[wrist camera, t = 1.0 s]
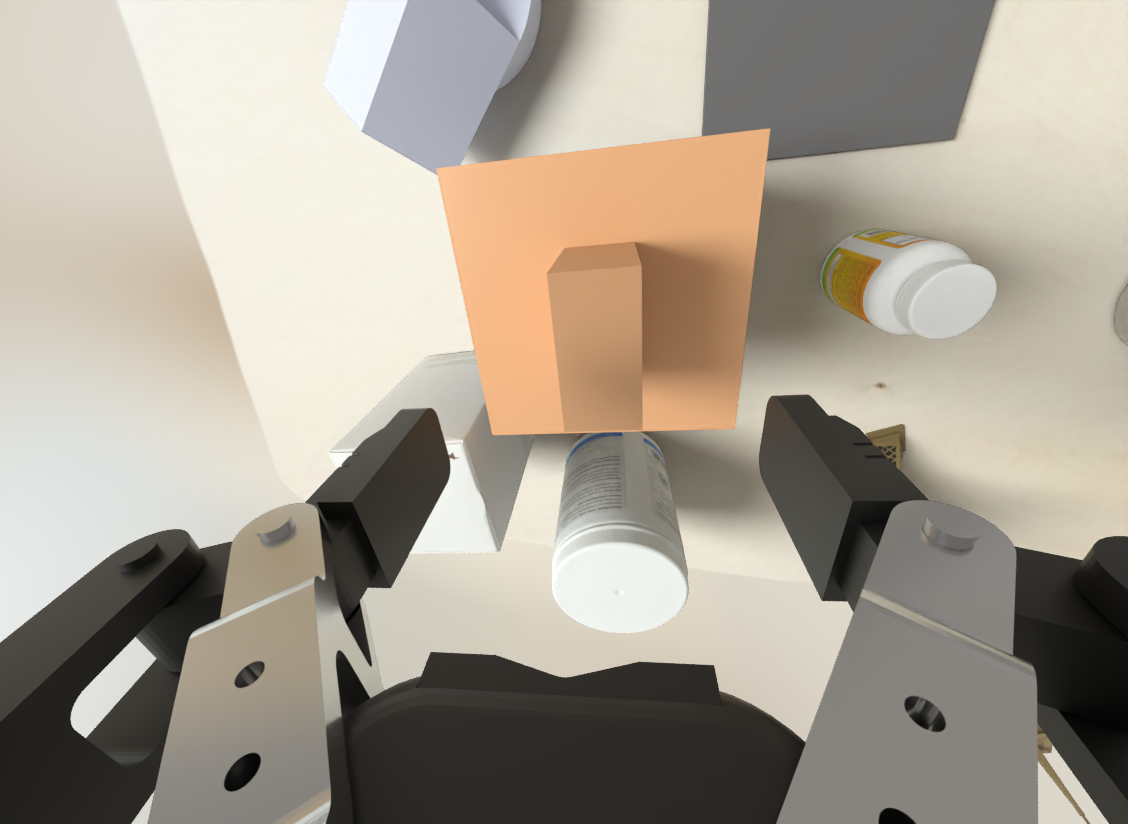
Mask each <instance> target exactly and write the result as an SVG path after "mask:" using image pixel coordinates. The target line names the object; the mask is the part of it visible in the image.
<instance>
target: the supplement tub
mask: <svg viewBox="0 0 1128 824" xmlns="http://www.w3.org/2000/svg"><path fill="white" fill-rule="evenodd" d="M552 574H553V577H552V589H553V594H554V597H555V599H556V601H557V603H558V605H559V606H560V607H561V608H562V610H563V611H564V612H565V613H567V614H568V615H569V616H570V617H572V618H573V619H574V620H576V621H578V622H580V623H581V624H584V625H586V626H588V627H591V628H594V629H597V630H601V631H606V632H613V633H635V632H641V631H646V630H650V629H653V628H656V627H659V626H661V625H663V624H664V623H666V622H668V621H670V620H671V619H672V618H674V617H675V616H676V615H677V614H678V613H679V612H680V611H681V609H682V608H683V607H684V605H685V603H686V601H687V597H688V591H689V589H688V588H689V587H688V579H687V576H688V571H687V565H686V560H685V555H684V549H683V544H682V539H681V535H680V530H679V525H678V520H677V516H676V511H675V506H674V501H673V497H672V492H671V488H670V483H669V478H668V473H667V468H666V464H665V459H664V456H663V453H662V451H661V449H660V448H659V446H658V445H657V444H656V443H655V442H654V441H653V440H652V439H651V438H650V437H649V436H647V435H646V434H644V433H642V432H640V431H637V432H598V433H587V434H585V435H584V436H582V437H581V438H580V439H579V440H578V441H577V442H576V443H575V444H574V445H573V447H572V448H571V450H570V452H569V454H568V457H567V460H566V466H565V473H564V480H563V487H562V494H561V501H560V508H559V516H558V523H557V530H556V537H555V544H554V553H553V560H552Z"/></svg>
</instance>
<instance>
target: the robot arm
mask: <svg viewBox="0 0 1128 824" xmlns="http://www.w3.org/2000/svg"><path fill="white" fill-rule="evenodd" d="M1114 322H1115V328H1116V332H1117V334H1118V335H1119V337H1120V339H1121V340H1122V341H1123V342H1125V343H1126V344H1127V345H1128V285H1127V287H1126V288H1125V290H1124V291H1123V293H1122V295H1121V297H1120V299H1119V302H1118V304H1117V307H1116V312H1115V318H1114ZM759 466H760V473H761V476H762V479H763V482H764V484H765V486H766V488H767V490H768V492H769V494H770V496H771V498H772V500H773V502H774V504H775V506H776V508H777V510H778V512H779V514H780V516H781V518H782V520H783V522H784V524H785V526H786V528H787V531H788V533H789V535H790V537H791V539H792V541H793V543H794V545H795V547H796V549H797V551H798V553H799V555H800V557H801V559H802V561H803V563H804V565H805V567H806V569H807V571H808V573H809V575H810V577H811V579H812V581H813V583H814V586H815V588H816V590H817V592H818V594H819V596H820V598H821V600H822V601H848V603H849V605H850V607H851V609H852V610H853V612H854V613H853V616H852V619H851V621H850V624H849V627H848V629H847V632H846V635H845V638H844V640H843V643H842V646H841V648H840V651H839V654H838V656H837V659H836V662H835V664H834V667H833V670H832V673H831V675H830V678H829V681H828V684H827V686H826V689H825V692H824V694H823V697H822V700H821V703H820V705H819V708H818V711H817V713H816V716H815V719H814V721H813V724H812V727H811V729H810V732H809V735H808V737H807V740H806V742H804V741H803V740H802V739H801V738H800V737H799V736H797V735H796V734H795V733H794V732H793V731H792V730H790V729H789V728H788V727H786V726H785V725H783V724H782V723H781V722H779V721H778V720H776V719H775V718H774V717H772V716H771V715H769V714H767V713H766V712H764V711H762V710H761V709H759V708H757V707H755V706H753V705H752V704H750V703H748V702H746V701H743V700H741V699H739V698H737V697H735V696H732V695H730V694H727V693H724V692H721V691H719V688H718V683H717V678H716V673H715V668H714V665H695V664H674V663H652V662H637V663H632V664H628V665H623V666H619V667H614V668H610V669H605V670H601V671H596V672H592V673H587V674H583V675H578V676H574V677H567V678H563V677H558V676H554V675H552V674H548V673H546V672H543V671H540V670H537V669H534V668H531V667H528V666H525V665H523V664H520V663H517V662H514V661H511V660H508V659H505V658H502V657H499V656H496V655H482V654H461V653H460V654H459V653H438V652H431V653H430V655H429V658H428V660H427V663H426V666H425V668H424V671H423V673H422V676H421V677H416V678H413V679H410V680H408V681H405V682H402V683H399V684H397V685H395V686H393V687H391V688H388V689H387V690H384V687H383V684H382V681H381V677H380V672H379V667H378V663H377V658H376V653H375V648H374V644H373V639H372V634H371V629H370V624H369V620H368V615H367V610H366V606H365V604H364V602H363V600H362V596H363V595H364V593H365V591H366V590H367V588H368V587H369V588H370V587H371V588H391V587H392V585H393V583H394V581H395V579H396V577H397V576H398V574H399V572H400V570H401V568H402V566H403V564H404V563H405V561H406V559H407V557H408V555H409V553H410V551H411V550H412V548H413V546H414V544H415V542H416V540H417V539H418V537H419V535H420V533H421V531H422V529H423V527H424V526H425V524H426V522H427V520H428V518H429V516H430V514H431V513H432V511H433V509H434V507H435V505H436V503H437V501H438V500H439V498H440V496H441V494H442V492H443V490H444V488H445V487H446V485H447V483H448V480H449V477H450V458H449V454H448V451H447V447H446V444H445V440H444V437H443V433H442V429H441V426H440V422H439V419H438V416H437V413H436V412H435V410H434V409H432V408H414V409H401V410H400V411H399V412H398V413H397V414H396V415H395V416H394V417H393V418H392V419H391V421H390V422H389V423H388V424H387V425H386V426H385V427H384V428H383V429H381V430H379V431H378V432H376V433H374V434H373V435H371V436H370V437H368V438H367V439H365V440H364V441H363V442H362V443H361V444H360V445H359V446H358V447H357V448H356V449H355V450H354V451H353V452H352V456H349V457H348V458H347V459H346V460H345V461H344V462H343V463H342V467H338V468H337V469H336V470H335V471H334V473H333V474H332V475H331V476H330V477H329V478H328V479H327V480H326V481H325V482H324V483H323V484H322V485H321V486H320V487H319V488H318V489H317V491H316V492H315V493H314V494H313V495H312V496H311V497H310V498H309V499H308V500H307V501H306V502H305V503H295V504H289V505H285V506H282V507H279V508H276V509H273V510H271V511H269V512H267V513H265V514H263V515H261V516H259V517H258V518H256V519H255V520H253V521H252V522H250V523H249V524H248V525H246V526H245V527H244V528H243V529H242V530H241V531H240V532H239V533H238V534H237V536H236V537H235V539H234V540H233V541H232V542H227V543H223V544H219V545H215V546H210V547H206V548H201V549H199V548H198V546H197V545H196V543H195V542H194V541H193V539H192V538H191V536H190V535H189V534H188V533H187V532H186V531H184V530H179V529H173V530H166V531H161V532H158V533H154V534H152V535H149V536H146V537H144V538H141V539H139V540H136V541H134V542H132V543H130V544H128V545H127V546H125V547H123V548H121V549H120V550H118V551H117V552H115V553H113V554H112V555H110V556H109V557H108V558H106V559H105V560H104V561H103V562H101V563H100V564H99V565H97V566H96V567H95V568H94V569H92V570H91V571H90V572H89V573H87V574H86V575H85V576H84V577H82V578H81V579H80V580H79V581H77V582H76V583H75V584H73V585H72V586H71V587H70V588H68V589H67V590H66V591H65V592H63V593H62V594H61V595H60V596H58V597H57V598H56V599H55V600H53V601H52V602H51V603H50V604H48V605H47V606H46V607H45V608H43V609H42V610H41V611H40V612H38V613H37V614H36V615H34V616H33V617H32V618H31V619H29V620H28V621H27V622H26V623H24V624H23V625H22V626H21V627H19V628H18V629H17V630H16V631H14V632H13V633H12V634H11V635H9V636H8V637H7V638H6V639H4V640H3V641H2V642H1V643H0V824H131V823H132V822H133V820H134V819H135V817H136V816H137V815H138V813H139V812H140V810H141V809H142V807H143V806H144V805H145V803H146V802H147V800H148V799H149V798H150V796H151V794H152V793H153V792H154V790H155V792H154V797H153V801H152V806H151V810H150V815H149V819H148V824H1038V764H1037V763H1038V756H1037V723H1038V725H1039V726H1040V728H1041V729H1042V730H1043V732H1044V733H1045V735H1046V736H1047V737H1048V739H1049V740H1050V742H1051V743H1052V744H1053V746H1054V747H1055V749H1056V750H1057V751H1058V753H1059V754H1060V756H1061V757H1062V758H1063V760H1064V761H1065V762H1066V764H1067V765H1068V767H1069V768H1070V770H1071V771H1072V772H1073V774H1074V775H1075V777H1076V778H1077V779H1078V781H1079V782H1080V784H1081V785H1082V786H1083V788H1084V789H1085V790H1086V792H1087V793H1088V795H1089V796H1090V797H1091V799H1092V800H1093V802H1094V803H1095V804H1096V806H1097V807H1098V809H1099V810H1100V811H1101V813H1102V814H1103V816H1104V817H1105V818H1106V819H1107V821H1108V823H1109V824H1128V537H1126V536H1113V537H1106V538H1103V539H1100V540H1099V541H1097V542H1096V543H1095V544H1094V546H1093V547H1092V548H1091V550H1090V551H1089V553H1088V554H1087V555H1086V557H1085V558H1084V559H1083V560H1079V559H1074V558H1069V557H1064V556H1059V555H1054V554H1049V553H1044V552H1039V551H1034V550H1029V549H1024V548H1019V547H1015V546H1014V545H1013V543H1012V542H1011V541H1010V539H1009V538H1008V537H1007V536H1006V535H1005V534H1004V533H1003V532H1002V531H1001V530H1000V529H998V528H997V527H996V526H995V525H993V524H992V523H990V522H988V521H987V520H985V519H983V518H982V517H980V516H978V515H976V514H974V513H971V512H969V511H967V510H964V509H961V508H959V507H956V506H952V505H949V504H945V503H940V502H935V501H929V500H928V499H927V498H926V497H925V496H924V495H923V494H922V493H921V492H920V491H919V490H918V489H917V488H916V487H915V486H914V485H913V483H912V482H911V481H910V480H909V479H908V478H907V477H906V476H905V475H904V474H903V473H902V472H901V471H900V470H899V469H898V468H897V467H896V466H895V465H894V464H893V463H892V462H891V461H890V460H889V459H888V458H887V459H885V455H884V454H883V453H882V452H881V451H880V450H879V448H878V447H877V446H873V442H872V441H871V440H870V439H869V438H868V437H867V436H866V435H865V434H864V433H863V432H862V431H861V430H860V429H859V428H858V427H856V426H854V425H852V424H851V423H849V422H847V421H845V420H843V419H841V418H839V417H838V416H828V415H827V414H826V412H825V411H824V410H823V409H822V408H821V407H820V406H819V405H818V404H817V402H816V401H815V400H814V399H813V398H812V397H811V396H810V395H785V396H771V397H770V399H769V401H768V403H767V408H766V414H765V421H764V427H763V433H762V440H761V446H760V453H759ZM134 637H136V638H137V639H139V641H140V642H141V643H142V644H143V645H144V646H145V647H146V648H147V649H148V650H149V651H150V652H151V653H152V654H153V655H154V656H155V657H156V658H157V659H156V660H155V662H153V664H152V665H151V666H150V667H149V668H148V669H147V670H146V671H145V673H144V674H143V675H142V676H141V677H140V678H139V679H138V681H137V682H136V683H135V684H134V685H133V686H132V687H131V689H129V691H128V692H127V693H126V694H125V695H124V696H123V697H122V698H121V700H120V701H119V702H118V703H117V704H116V705H115V706H114V707H113V709H112V710H111V711H110V712H109V713H108V714H107V715H106V716H105V718H104V719H103V720H102V721H101V722H100V723H99V724H98V725H97V727H96V728H95V729H94V730H93V731H92V732H91V734H89V736H88V737H87V738H84V737H83V736H81V734H79V733H78V732H77V731H75V730H74V729H73V727H72V725H71V721H70V717H71V711H72V708H73V705H74V703H75V701H76V700H77V698H78V696H79V695H80V694H81V692H82V691H83V690H84V689H85V688H86V687H87V686H88V685H89V684H90V682H91V681H92V680H93V679H94V678H95V677H96V676H97V675H98V674H99V673H100V672H101V671H102V670H103V669H104V668H105V667H106V666H107V665H108V664H109V663H110V662H111V661H112V660H113V659H114V658H115V657H116V656H117V655H118V654H119V653H120V652H121V651H122V650H123V649H124V648H125V647H126V646H127V645H128V644H129V642H131V641H132V640H133V638H134Z"/></svg>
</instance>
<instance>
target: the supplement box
mask: <svg viewBox="0 0 1128 824" xmlns="http://www.w3.org/2000/svg"><path fill="white" fill-rule="evenodd" d="M414 408H432V409H434V410H435V412H436V413H437V416H438V419H439V422H440V426H441V429H442V433H443V437H444V440H445V444H446V447H447V451H448V454H449V458H450V477H449V480H448V483H447V485H446V487H445V488H444V490H443V492H442V494H441V496H440V498H439V500H438V501H437V503H436V505H435V507H434V509H433V511H432V513H431V514H430V516H429V518H428V520H427V522H426V524H425V526H424V527H423V529H422V531H421V533H420V535H419V537H418V539H417V540H416V542H415V544H414V546H413V548H412V550H411V551H410V553H409V554H430V553H431V554H432V553H488V552H499V551H500V549H501V546H502V543H503V540H504V537H505V533H506V530H507V527H508V523H509V520H510V517H511V513H512V510H513V507H514V503H515V500H516V496H517V493H518V490H519V487H520V483H521V480H522V477H523V473H524V470H525V467H526V463H527V460H528V456H529V453H530V450H531V447H532V443H533V440H534V437H535V434H521V435H492V431H491V426H490V421H489V417H488V412H487V407H486V402H485V398H484V393H483V388H482V383H481V379H480V374H479V369H478V364H477V360H476V355H475V351H470V352H461V353H452V354H443V355H435V356H428V357H425V358H424V359H423V360H422V361H421V362H420V363H419V364H418V365H417V366H416V367H415V368H414V369H413V370H412V371H411V372H410V373H409V374H408V375H407V376H406V377H405V378H404V379H403V380H402V381H401V382H400V383H399V384H398V385H397V386H396V387H395V388H394V389H393V390H392V391H391V392H390V393H389V394H388V395H387V396H386V397H385V398H384V399H383V400H382V401H381V402H380V403H379V404H378V405H377V406H375V407H374V408H373V409H372V410H371V411H370V412H369V413H368V414H367V415H366V416H365V417H364V418H363V419H362V420H361V421H360V422H359V423H358V424H357V425H356V426H355V427H354V428H353V429H352V430H351V431H350V432H349V433H348V434H347V435H346V436H345V437H344V438H343V439H342V440H340V441H339V442H338V443H337V444H336V445H335V446H334V447H333V448H332V449H331V450H330V451H329V455H330V457H331V459H332V461H333V463H334V464H335V466H336V468H338V467H342V463H343V462H344V461H345V460H346V459H347V458H348V457H349V456H352V452H353V451H354V450H355V449H356V448H357V447H358V446H359V445H360V444H361V443H362V442H363V441H364V440H365V439H367V438H368V437H370V436H371V435H373V434H374V433H376V432H378V431H379V430H381V429H383V428H384V427H385V426H386V425H387V424H388V423H389V422H390V421H391V419H392V418H393V417H394V416H395V415H396V414H397V413H398V412H399V411H400V410H401V409H414Z"/></svg>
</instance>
